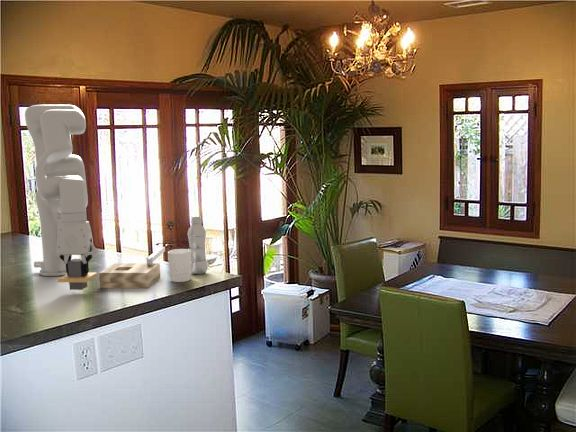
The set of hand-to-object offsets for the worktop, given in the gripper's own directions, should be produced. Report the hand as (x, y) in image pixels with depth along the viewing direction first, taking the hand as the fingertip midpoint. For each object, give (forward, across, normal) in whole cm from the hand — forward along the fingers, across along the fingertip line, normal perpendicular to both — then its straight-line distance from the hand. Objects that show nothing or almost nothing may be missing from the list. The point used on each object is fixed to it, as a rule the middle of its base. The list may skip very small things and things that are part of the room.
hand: (77, 274), depth 194 cm
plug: (+4, 0, 0) cm, 4 cm away
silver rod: (+1, +17, +26) cm, 31 cm away
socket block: (+6, +12, +14) cm, 19 cm away
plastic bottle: (+6, +32, +27) cm, 42 cm away
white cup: (+6, +28, +18) cm, 34 cm away
